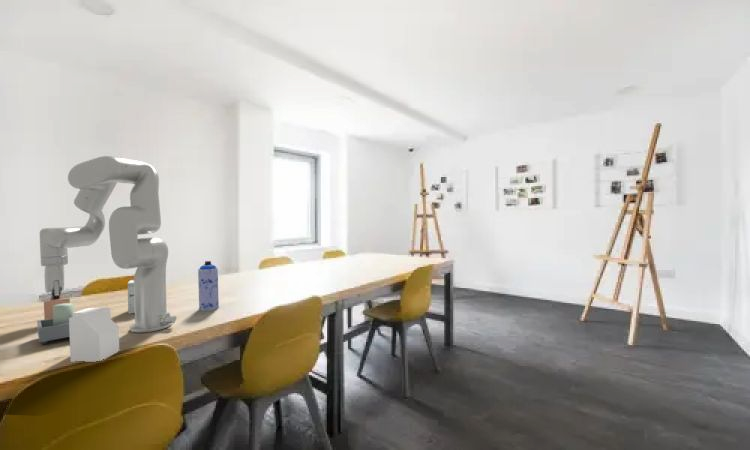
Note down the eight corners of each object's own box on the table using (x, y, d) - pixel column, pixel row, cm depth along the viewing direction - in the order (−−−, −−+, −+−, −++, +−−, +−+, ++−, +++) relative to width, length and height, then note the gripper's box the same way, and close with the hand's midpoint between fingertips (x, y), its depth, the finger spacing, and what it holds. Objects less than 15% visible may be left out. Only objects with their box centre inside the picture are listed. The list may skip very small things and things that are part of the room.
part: (51, 332, 112) (52, 307, 112) (54, 328, 116) (54, 304, 116) (72, 330, 115) (72, 305, 115) (74, 326, 119) (74, 302, 119)
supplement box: (127, 314, 142) (126, 283, 141) (130, 309, 148) (129, 279, 148) (149, 311, 145) (148, 281, 145) (151, 307, 152) (150, 278, 151)
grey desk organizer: (88, 336, 116) (87, 309, 115) (39, 346, 107) (38, 317, 107) (78, 319, 134) (77, 296, 134) (35, 326, 126) (34, 302, 126)
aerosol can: (219, 305, 155) (218, 259, 154) (219, 309, 148) (218, 261, 147) (199, 307, 152) (197, 260, 151) (198, 311, 145) (196, 263, 144)
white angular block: (89, 347, 107) (87, 307, 107) (127, 346, 107) (125, 307, 107) (58, 362, 96) (56, 318, 96) (100, 361, 97) (98, 318, 96)
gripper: (39, 260, 135) (41, 308, 135) (41, 263, 124) (43, 315, 125) (65, 258, 140) (67, 304, 141) (69, 261, 129) (71, 311, 130)
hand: (56, 309), depth 133 cm, fingers closed
